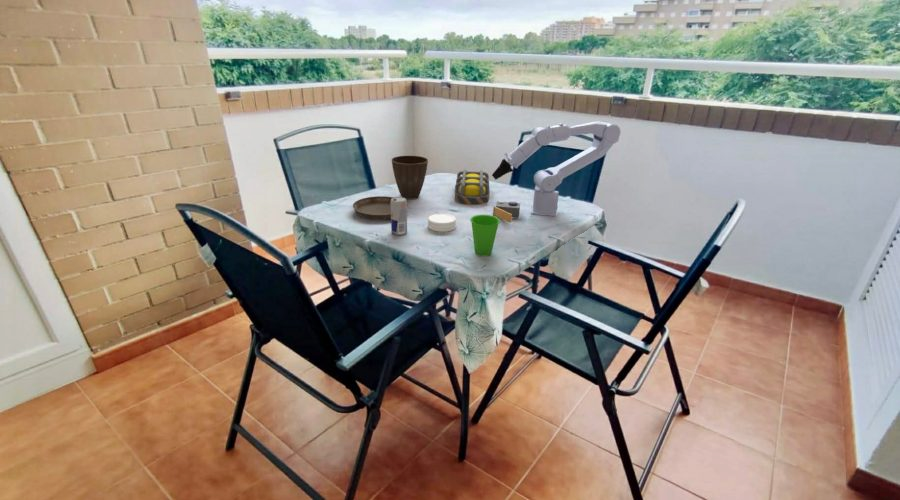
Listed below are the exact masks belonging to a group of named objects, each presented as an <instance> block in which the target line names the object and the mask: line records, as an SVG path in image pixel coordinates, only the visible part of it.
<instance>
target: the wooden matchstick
mask: <svg viewBox="0 0 900 500" xmlns="http://www.w3.org/2000/svg"><path fill="white" fill-rule="evenodd" d="M492 211H493V212H492V216H493V215H495V217H497V218H499V219H501V220H503V221H505V222H507V223H510V224H511V223H512V219H513V218H512V214H510V213H508V212H506V211H504V210H502V209H499V208H497V207H496V205H495V206H493V209H492Z"/></svg>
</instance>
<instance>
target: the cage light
mask: <svg viewBox="0 0 900 500" xmlns="http://www.w3.org/2000/svg"><path fill="white" fill-rule="evenodd" d="M461 175H462V176H461ZM490 195H491V194H490V176H489V173H487V172H486V171H483V169H480V171H470V170H469V171H467V170H466V169H463V170H461V171H459V172H458V173H457V174H456V180H455V185H454V201H455V202H457V203H459V204H462V205H468V206H479V205H485V204H487V203H489V201H490Z"/></svg>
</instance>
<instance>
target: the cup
mask: <svg viewBox="0 0 900 500" xmlns="http://www.w3.org/2000/svg"><path fill="white" fill-rule="evenodd" d="M469 219H470V220H469V221H470V223H471V229H472V237H473V245H474V246H473V248H474V252H475V254H476V255H477V256H480V257H481V256H482V257H487V256H490V255H491V254H492V251H493V248H494V244H495V239H496V236H497V232H498V228H499V225H500V223H501V220H500V218H499V217H497V216H493V214H492V215H491V214H476V215H473V216H471V217H470V218H469Z"/></svg>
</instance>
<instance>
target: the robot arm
mask: <svg viewBox="0 0 900 500" xmlns="http://www.w3.org/2000/svg"><path fill="white" fill-rule="evenodd" d="M591 134H592V136H593V138H592V145H591V146H589V147H588V148H586V149H585V150H583V151H581V152H579V153H578V154H576V155H574V156H573V157H571V158H569V159H567V160H565V161H563V162H561V163H560V164H558V165H556V166H554V167H553V166H552V167H547V168H546V169H541V170H540V169H539V170H538V171H537V172H535V174H534V176H533V182H534V185H535V186H534V191H533V201H532V206H531V211H530V213H531V214H532V215H538V216H539V215H540V216H541V215H543V216H550V217H551V216H552V217H553V216H554V217H555V216H557V211H558V202H559V191H558V190H556V188H557V187H558V186H559V185H561V184H562V182H563V180H564V179H565V178H567V177H568V176H571V175H572V174H575V173H576V172H577V171H579V170H581V169H583V168H584V167H586V166H588V165H590V164H592V163H593V162H596V161H597V160H599V159H601V158H603V157H604V156H605V155H606V154H607V153H608V152H609V150H610V149H611V148H612V147H613V146H614V145H615V144H616V143H617V142H619V140H620V136H621V128H620V126H619V125H617V124H614V123H610V122H608V121H605V120H600V121H597V120H595V121H591V122H586V123H583V124H577V125H573V126H568V124H566V123H565V124H564V123H563V122H560V123H558V125H553V126H550V125H546V127H542V126H538V127H536V128H533V129H532V131H531V134H530V135H529V136H528V137H527V138H525V139H524V140H523V141H522V142H521V143H519V145H518V146H516V148H514V149H513V150H512V151H511V152H510V153H507V152H505V153H504V156H505V157H506V159H507V160H506V159H505V158H503V159H502V160H501V161H500V163H499V166H498V167H497V168H496V169H495V170H494V172H493V173H492V174H491V176H492V178H493V179H495V181H496V180H498V179H500V178H501V177H503V176H504V175H507V174H509V173H511V172H514V170H513V168H514V169H518V167H519V166H520V165H522V164H523V163H524V162H525V161H526V160H527V159H528V158H530V157H531V156H532V155H533V154H534V153H535V152H537V151H538V150H539V149H540V148H541V147H543V146H545V147H546V146H549V144H551V143H557V142H564V141H567V140H568V139H570V138H571V137H574V136H582V135H591ZM512 167H513V168H512Z"/></svg>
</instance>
